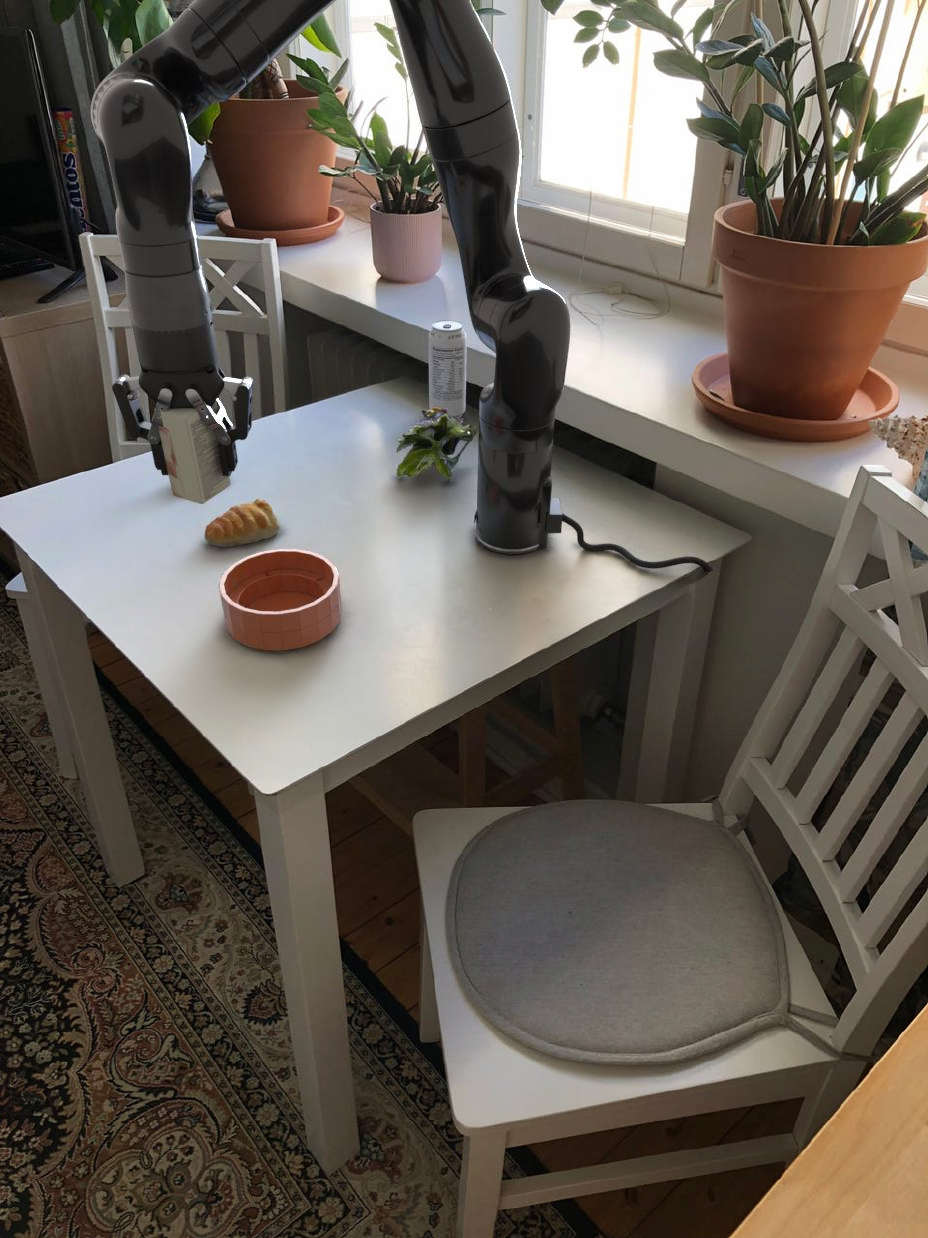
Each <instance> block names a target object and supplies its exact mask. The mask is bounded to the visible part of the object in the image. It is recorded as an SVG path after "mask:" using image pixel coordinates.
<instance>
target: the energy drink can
mask: <svg viewBox="0 0 928 1238" xmlns="http://www.w3.org/2000/svg"><path fill="white" fill-rule="evenodd" d="M431 326H432V328H431V330H430V331H429V333H428V409H429V410H432V408H433V407H437V408H440V409H443V408H447V409H448V412H447V413H446V415H450V416H451V417H454V418H455V419H456V418H457V417H460V418H462V417H463V414H464V413H465V412H466V407H467V406H466V405H467V404H466V401H467V398H466V397H467V345H468V344H467V342H468V341H467V338H468V336H467V333H466V332H465V329H464V324H463V323H462V322H460V321H458V320H453V319H441V320H437V321H435V322H433V323H432V325H431ZM439 418H440V417H439ZM439 418H438V419H439Z"/></svg>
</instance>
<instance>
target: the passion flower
mask: <svg viewBox="0 0 928 1238" xmlns="http://www.w3.org/2000/svg"><path fill="white" fill-rule="evenodd" d="M447 412H448V409H447V408H443V409H440V408H437V407H433V408H432V410H429V408H427V409H425V408H424V409H422V410H421V413H422V416H423V418H425V419H428V420H425V419H423V421H422V420H421V419H419V422H415V424H411V426H412V428H408V430H407V433H401V437H402V438H403V439H397V440H396V441H397V443H398V446H397V447H396V451H395V452H396V453H397V454H398V453H399V452H400V451H402V449H404V450H405V449H407V448H408V447H411V446H412V447H411V449H409V451H408V452H407V453H406V455H405V456H404V458H403V459H402V461H401V462H400V463H398V466H397V467H396V476H397V477H398V478H399V479H400V478H402V477H404V476H407V477H409V478H413V477H415V476H418V475H420V474H422V473H423V472H424V471H426V470H428V469H429V468H430V467H431V466H433V465H435V467H436V469H437V471H438V472H439V473H440V474H441V475H442V476H444V477H445V478H447V485H449V484H450V481H451V479H452V476H453V472H454V470H455V467H456V466H457V464H458V463H459V459H460V457H461V455H462V454H463V452H464V451H465V449H466V448H467V447H468V445H469V444H470V442H472V441H473V440H474V438H475V436H476V435H477V430H478V428H477V425H475V426H474V427H473V429H472V424H467V423H465V422H464V420H465V419H464V418H462V417H457V418H456V419H455V418H454V417H451V416H450V415H446V413H447ZM439 417H440V418H439ZM438 418H439V419H438ZM460 441H463V442H465V443H464V445H463V446H462V448H461V450H460V451H459V452H458V453H457V454H456V455H455V456H454V457H450V456H452V455H454V454H455V452H456V448H457V446H458V444H459V443H460Z"/></svg>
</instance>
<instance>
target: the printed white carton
mask: <svg viewBox="0 0 928 1238" xmlns="http://www.w3.org/2000/svg"><path fill="white" fill-rule="evenodd" d="M217 408H218V406H217V400H216V402H215V403H214V405H213V407H212V408H211V409H212V411H213V412H214V413H215V412H216V411H217ZM154 411H155V408H154ZM159 417H162V422H163V427H160V426H158V428H159V433H160V437H161V442H162V447H163V451H164V456H165V460H166V465H167V470H168V475H167V476H168V480H169V483H170V489H171V492H172V496H173V497H177V498H180V499H183V500H186V501H189V502H192V503H195V504H199V505H204V504H205V503H207V502H208V501H211V500H212V499H213V498H215V497H216V496H217V495H219V494H220V493H222V492H223V491H224V490H226V489H227V488H228V487H230V486H231V485H232V481H231V475H230V476H223V475H222V469H221V463H220V456H219V450H218V445H219V443H220V442H219V440H218V439H217V437H216V436H215V434H214V432H213V431H212V429H210V428H208V427H207V425H206V424H205V422H204V421H203V419H202V418H201V416H200V415H199V413H198V412H197V410H196V409H195V408H181V409H169V410H168V411H165V412H162V411H161V416H160V415H159Z"/></svg>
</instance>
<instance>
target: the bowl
mask: <svg viewBox="0 0 928 1238" xmlns="http://www.w3.org/2000/svg"><path fill="white" fill-rule="evenodd" d="M340 582H341V581H340V574H339V571H338V569H337V566H336V565H335V564H334V563H333V562H332V561H331V560H330V559H328V557H326V556H324V555H320V554H318V553H316V552H314V551H311V550H310V551H309V550H304V549H299V548H279V549H278V548H277V549H270V550H264V551H259V552H256V553H253V554H251V555H247V556H245V557H243V558H241V559H240V560H238V561H236V562H234V563H233V564H232V565H230V566H229V567H228V568H227V569H226V570H225V571H223V573H222V575H221V576H220V580H219V582H218V589H219V595H220V603H221V607H222V613H223V618H224V623H225V624H224V625H225V630H226V631H227V632H228V634H229V635H230V636H231V637H232V638H233V639H234V640H235V641H237V642H239V643H240V644H242V645H244V646H246V647H248V648H252V649H253V648H254V649H257V650H262V651H289V650H294V649H298V648H299V649H300V648H305V647H306V646H309V645H312V644H314V643H317V642H319V641H321V640H323V639H324V638H325V637H326V636H328V635H329V634H331V633H332V632H333V631H334V630H335V628H336V627H337V626H338V625H339V624H340V622H341V618H342V613H343V605H342V594H341V592H342V591H341V583H340Z"/></svg>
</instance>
